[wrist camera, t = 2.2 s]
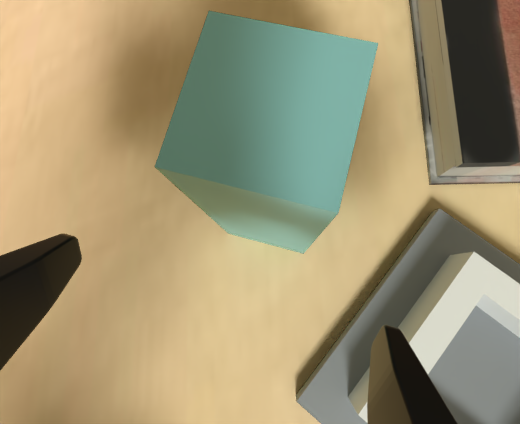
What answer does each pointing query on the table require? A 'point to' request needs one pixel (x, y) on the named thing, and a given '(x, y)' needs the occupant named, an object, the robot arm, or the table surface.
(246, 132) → the teal rectangular block
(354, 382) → the square socket base
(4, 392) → the table surface
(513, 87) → the book
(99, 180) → the table surface
